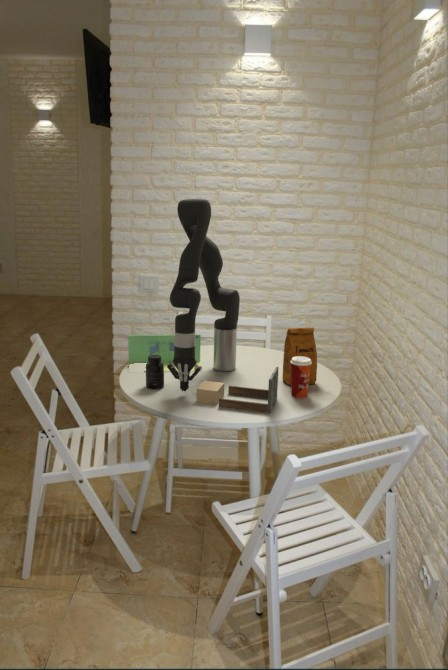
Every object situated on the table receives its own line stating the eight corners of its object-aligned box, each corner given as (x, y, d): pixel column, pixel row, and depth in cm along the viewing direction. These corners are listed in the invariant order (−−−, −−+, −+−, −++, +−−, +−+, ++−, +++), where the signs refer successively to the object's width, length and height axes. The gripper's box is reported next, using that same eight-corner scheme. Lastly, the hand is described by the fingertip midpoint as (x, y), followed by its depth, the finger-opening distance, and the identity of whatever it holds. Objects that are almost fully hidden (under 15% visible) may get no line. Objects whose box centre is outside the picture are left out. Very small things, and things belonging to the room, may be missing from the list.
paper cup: (304, 400, 212) (306, 363, 209) (284, 396, 216) (286, 359, 212) (313, 394, 219) (315, 358, 215) (294, 390, 222) (296, 354, 219)
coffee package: (318, 386, 227) (322, 330, 222) (287, 387, 225) (290, 331, 219) (310, 377, 237) (313, 324, 231) (280, 379, 234) (282, 324, 229)
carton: (204, 393, 218) (204, 380, 216) (224, 396, 216) (224, 383, 214) (196, 402, 209) (196, 388, 208) (216, 404, 207) (217, 391, 206)
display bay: (228, 393, 218) (229, 361, 215) (276, 398, 214) (278, 366, 210) (218, 407, 205) (219, 374, 201) (269, 413, 200) (271, 379, 197)
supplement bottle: (146, 383, 226) (145, 353, 222) (164, 383, 226) (164, 353, 223) (145, 390, 219) (144, 358, 216) (164, 389, 220) (163, 358, 216)
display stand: (200, 362, 254) (200, 334, 250) (202, 371, 242) (203, 342, 239) (128, 363, 250) (128, 335, 247) (127, 373, 238) (127, 343, 235)
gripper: (205, 343, 212) (204, 389, 216) (170, 339, 215) (170, 385, 219) (199, 348, 205) (198, 396, 209) (163, 344, 208) (163, 391, 212)
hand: (184, 390), depth 214 cm, fingers closed
